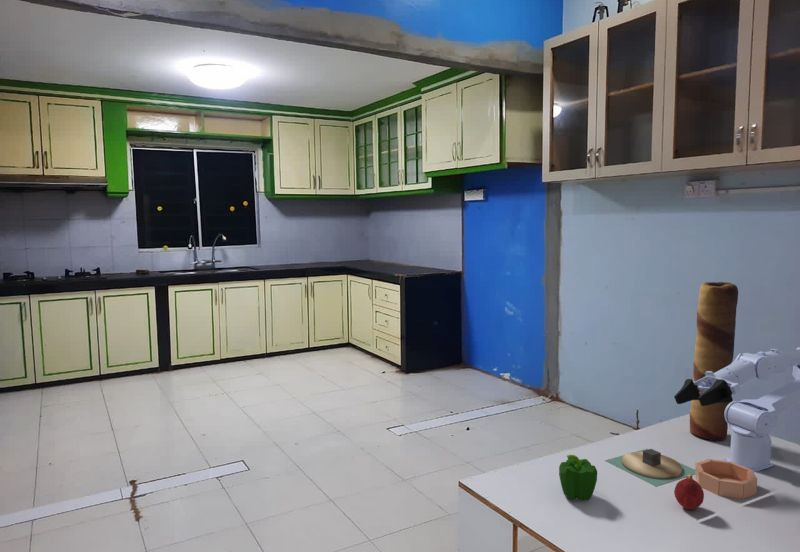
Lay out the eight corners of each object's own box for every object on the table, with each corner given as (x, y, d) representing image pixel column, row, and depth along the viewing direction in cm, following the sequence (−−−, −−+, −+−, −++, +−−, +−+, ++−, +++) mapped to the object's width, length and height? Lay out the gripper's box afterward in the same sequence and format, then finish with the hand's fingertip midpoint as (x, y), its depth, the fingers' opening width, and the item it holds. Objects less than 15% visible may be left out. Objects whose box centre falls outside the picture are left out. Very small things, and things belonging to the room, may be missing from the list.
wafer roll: (739, 440, 161) (748, 284, 156) (706, 443, 159) (714, 285, 154) (712, 427, 172) (720, 280, 167) (681, 429, 170) (688, 281, 165)
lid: (647, 450, 154) (648, 437, 154) (694, 471, 142) (694, 456, 141) (610, 461, 148) (610, 447, 147) (655, 483, 135) (656, 468, 135)
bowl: (717, 471, 142) (717, 456, 142) (765, 492, 132) (766, 475, 131) (685, 481, 137) (685, 466, 137) (733, 504, 126) (734, 487, 126)
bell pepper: (596, 490, 134) (597, 449, 132) (596, 507, 126) (597, 464, 125) (559, 485, 136) (560, 445, 135) (557, 501, 128) (558, 459, 127)
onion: (706, 518, 121) (708, 482, 120) (677, 515, 122) (679, 480, 121) (698, 504, 126) (700, 470, 126) (670, 502, 128) (672, 468, 127)
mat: (647, 450, 155) (647, 448, 155) (700, 473, 141) (700, 472, 141) (604, 462, 148) (604, 460, 148) (656, 488, 134) (656, 486, 134)
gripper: (699, 364, 148) (660, 384, 143) (747, 364, 134) (705, 386, 130) (709, 389, 147) (671, 410, 143) (758, 392, 133) (717, 415, 129)
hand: (688, 401), depth 136 cm, fingers open, 7 cm apart
